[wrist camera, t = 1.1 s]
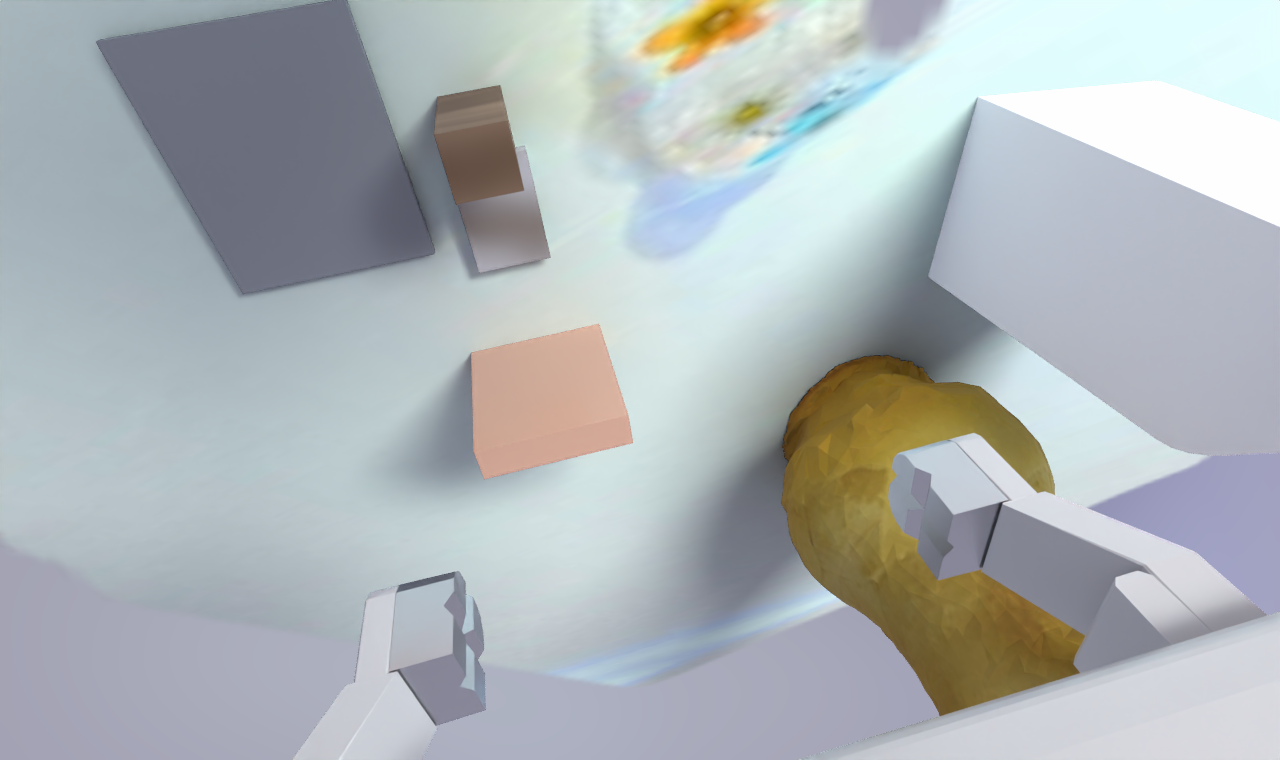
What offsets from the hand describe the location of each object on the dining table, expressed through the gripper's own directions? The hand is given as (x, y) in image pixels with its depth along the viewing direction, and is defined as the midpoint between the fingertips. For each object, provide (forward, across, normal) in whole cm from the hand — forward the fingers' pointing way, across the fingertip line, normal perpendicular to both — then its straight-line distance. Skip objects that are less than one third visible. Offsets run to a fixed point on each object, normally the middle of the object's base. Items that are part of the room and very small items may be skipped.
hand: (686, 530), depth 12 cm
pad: (+27, +12, -1) cm, 29 cm away
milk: (+27, -30, +9) cm, 41 cm away
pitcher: (+27, -19, +27) cm, 43 cm away
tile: (+27, +3, +13) cm, 30 cm away
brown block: (+27, +3, +2) cm, 27 cm away
